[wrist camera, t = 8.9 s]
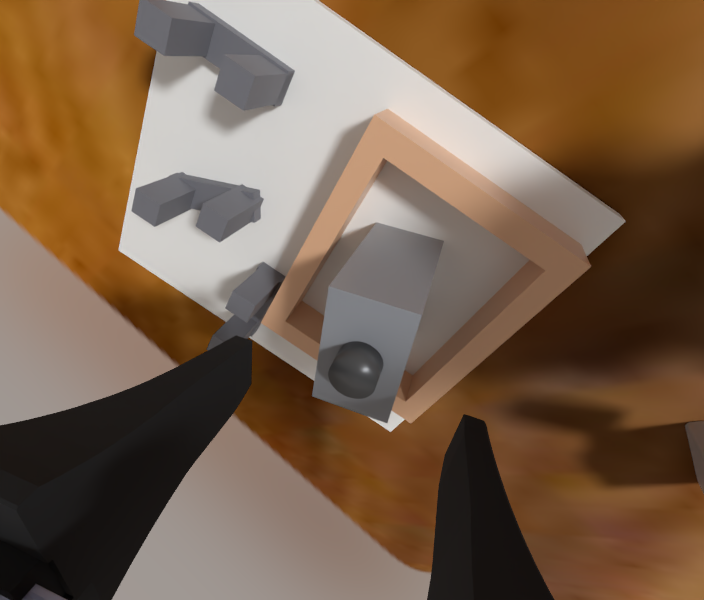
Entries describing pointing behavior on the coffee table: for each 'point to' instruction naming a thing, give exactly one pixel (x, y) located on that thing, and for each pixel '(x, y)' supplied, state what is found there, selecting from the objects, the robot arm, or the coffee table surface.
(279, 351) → the board
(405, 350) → the block
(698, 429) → the lighter
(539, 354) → the coffee table surface
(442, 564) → the robot arm
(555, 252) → the frame
